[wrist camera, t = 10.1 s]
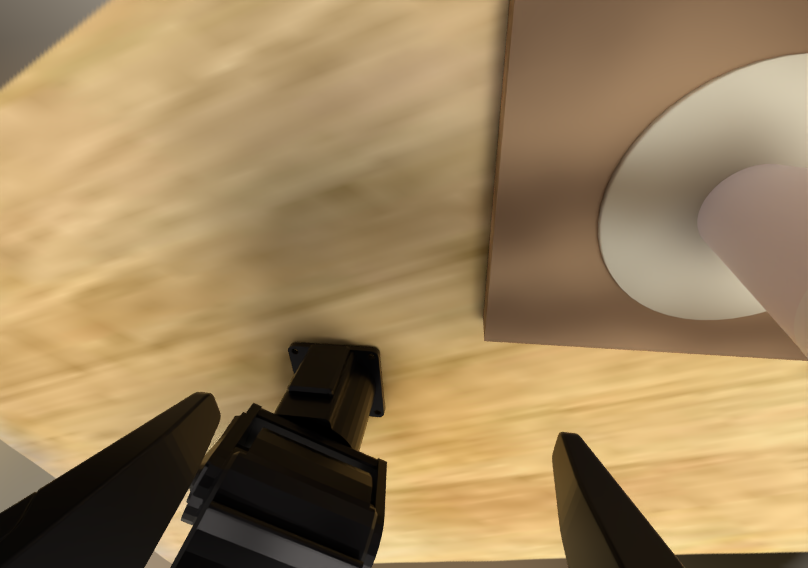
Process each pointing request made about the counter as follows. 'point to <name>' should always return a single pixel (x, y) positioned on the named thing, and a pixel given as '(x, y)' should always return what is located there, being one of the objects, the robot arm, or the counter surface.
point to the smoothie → (764, 239)
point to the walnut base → (637, 169)
